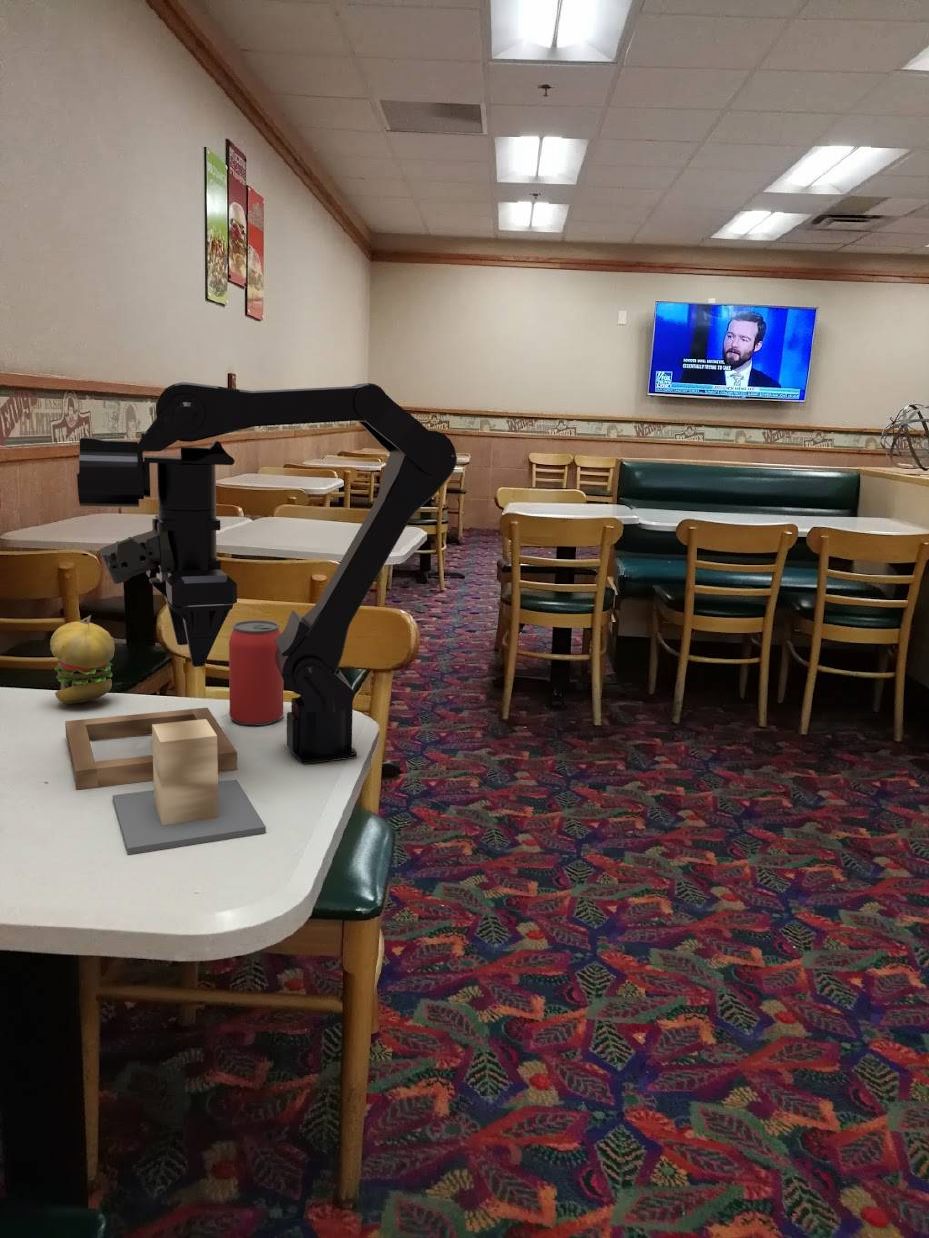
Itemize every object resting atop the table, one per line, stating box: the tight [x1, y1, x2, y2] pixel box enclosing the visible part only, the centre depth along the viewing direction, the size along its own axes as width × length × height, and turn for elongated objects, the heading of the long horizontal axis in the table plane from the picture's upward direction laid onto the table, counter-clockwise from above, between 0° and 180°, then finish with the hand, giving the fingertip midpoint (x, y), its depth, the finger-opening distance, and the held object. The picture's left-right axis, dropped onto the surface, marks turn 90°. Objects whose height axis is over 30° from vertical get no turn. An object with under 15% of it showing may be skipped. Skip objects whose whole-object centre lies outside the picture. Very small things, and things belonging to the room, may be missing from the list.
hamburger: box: [49, 615, 116, 705], centre depth 117 cm, size 8×7×12 cm
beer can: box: [228, 619, 284, 726], centre depth 115 cm, size 7×7×12 cm
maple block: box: [151, 719, 219, 825], centre depth 87 cm, size 5×5×8 cm
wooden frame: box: [64, 707, 238, 791], centre depth 103 cm, size 16×16×2 cm
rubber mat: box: [111, 778, 267, 856], centre depth 88 cm, size 12×12×1 cm
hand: (189, 654), depth 99 cm, fingers open, 9 cm apart
